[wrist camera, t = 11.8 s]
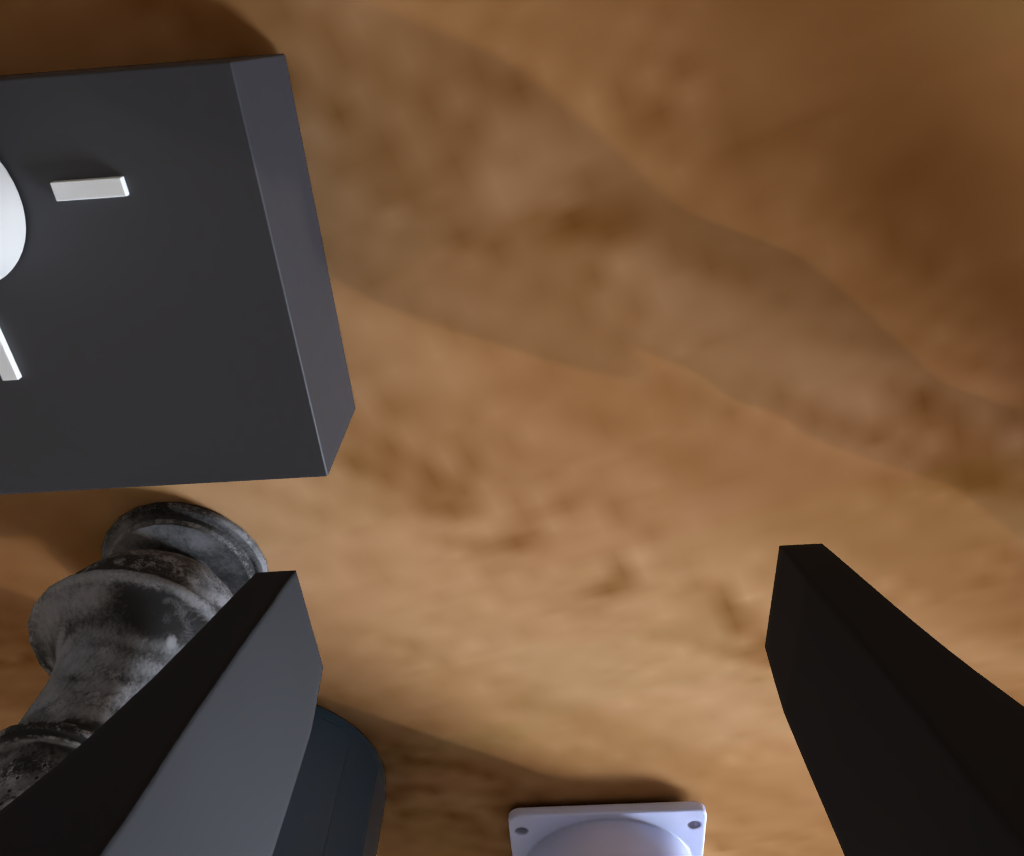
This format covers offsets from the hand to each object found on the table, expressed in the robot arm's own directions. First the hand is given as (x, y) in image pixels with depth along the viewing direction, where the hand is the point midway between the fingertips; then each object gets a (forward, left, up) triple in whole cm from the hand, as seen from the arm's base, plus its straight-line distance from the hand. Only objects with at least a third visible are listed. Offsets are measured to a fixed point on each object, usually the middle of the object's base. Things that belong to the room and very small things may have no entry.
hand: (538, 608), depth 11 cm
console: (+3, +12, -10) cm, 15 cm away
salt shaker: (-7, +12, -10) cm, 17 cm away
